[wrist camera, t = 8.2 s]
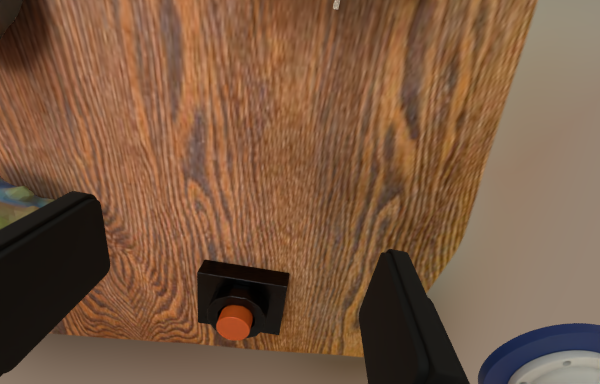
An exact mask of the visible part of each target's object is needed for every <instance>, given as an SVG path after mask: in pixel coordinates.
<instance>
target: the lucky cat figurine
mask: <svg viewBox="0 0 600 384" xmlns="http://www.w3.org/2000/svg"><path fill="white" fill-rule="evenodd" d="M22 2H23V0H0V39H1V37H2V36H3V35H4V34H5V31H6V29H7V28H8V27H9V25H10V24H12V23H13V21H15V17H17V16H18V13H19V11H20V8H21V5H22Z"/></svg>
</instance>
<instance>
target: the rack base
mask: <svg viewBox="0 0 600 384" xmlns="http://www.w3.org/2000/svg"><path fill="white" fill-rule="evenodd" d="M339 3H340V0H334V6H333V9H335V10H338V9H339Z"/></svg>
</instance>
